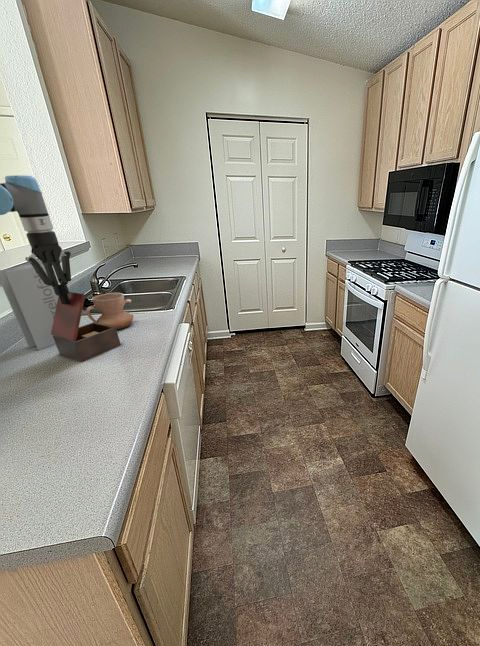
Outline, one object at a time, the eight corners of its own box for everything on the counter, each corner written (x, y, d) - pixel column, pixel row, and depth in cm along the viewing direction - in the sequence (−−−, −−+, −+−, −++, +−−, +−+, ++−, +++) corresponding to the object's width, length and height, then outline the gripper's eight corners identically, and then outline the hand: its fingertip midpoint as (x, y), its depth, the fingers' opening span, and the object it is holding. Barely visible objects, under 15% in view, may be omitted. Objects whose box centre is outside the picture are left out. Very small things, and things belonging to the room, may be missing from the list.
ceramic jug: (133, 318, 158) (125, 289, 151) (140, 327, 147) (132, 296, 141) (90, 327, 149) (80, 296, 142) (94, 337, 138) (83, 304, 132)
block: (85, 347, 127) (81, 335, 125) (98, 343, 131) (94, 331, 128) (93, 350, 125) (89, 338, 122) (106, 345, 129) (102, 333, 126)
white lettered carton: (38, 351, 127) (5, 272, 113) (29, 349, 129) (-5, 271, 115) (73, 337, 139) (46, 264, 125) (63, 335, 141) (36, 263, 127)
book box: (99, 340, 135) (93, 322, 132) (121, 345, 130) (115, 327, 126) (60, 355, 123) (52, 336, 120) (82, 362, 117) (74, 342, 114)
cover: (62, 290, 120) (59, 289, 119) (85, 294, 114) (82, 294, 113) (53, 334, 120) (50, 334, 119) (75, 341, 114) (72, 340, 113)
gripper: (23, 234, 98) (52, 310, 109) (67, 229, 108) (90, 299, 119) (10, 233, 101) (40, 307, 112) (54, 228, 111) (78, 297, 122)
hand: (66, 303), depth 115 cm, fingers closed
